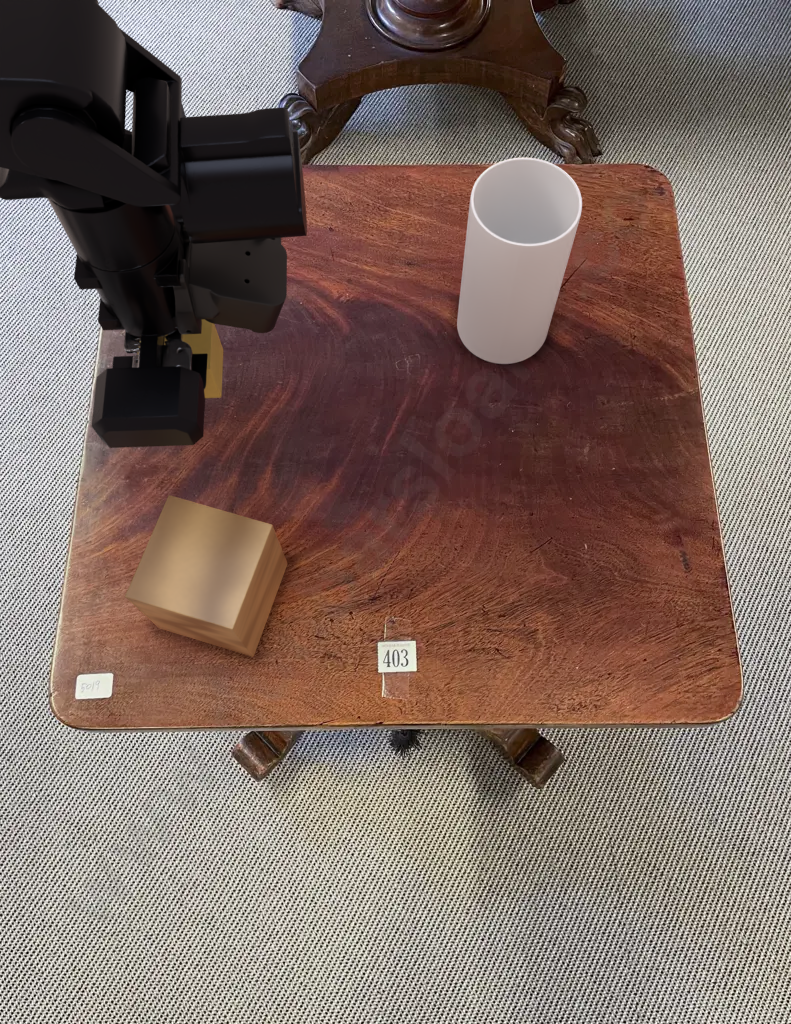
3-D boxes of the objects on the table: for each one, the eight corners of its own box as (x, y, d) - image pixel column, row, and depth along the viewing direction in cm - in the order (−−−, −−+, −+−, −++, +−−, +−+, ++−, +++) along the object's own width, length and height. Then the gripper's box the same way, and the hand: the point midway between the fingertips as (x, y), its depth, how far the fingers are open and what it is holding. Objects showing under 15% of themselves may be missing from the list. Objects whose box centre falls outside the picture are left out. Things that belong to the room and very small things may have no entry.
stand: (158, 628, 68) (124, 596, 59) (196, 536, 70) (168, 494, 62) (253, 657, 67) (232, 629, 58) (288, 563, 69) (272, 524, 61)
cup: (551, 292, 79) (586, 163, 64) (543, 369, 76) (578, 252, 61) (462, 281, 79) (477, 151, 64) (451, 357, 76) (463, 239, 62)
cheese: (151, 400, 61) (135, 371, 58) (155, 351, 63) (139, 320, 59) (221, 397, 61) (210, 368, 58) (223, 349, 63) (212, 318, 59)
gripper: (266, 371, 44) (298, 489, 59) (271, 98, 51) (299, 264, 66) (49, 378, 44) (135, 495, 59) (83, 104, 51) (153, 269, 65)
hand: (187, 374), depth 62 cm, fingers closed on cheese, 4 cm apart
